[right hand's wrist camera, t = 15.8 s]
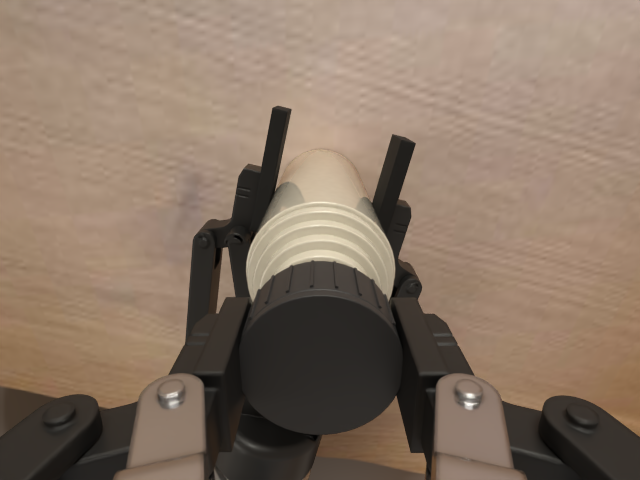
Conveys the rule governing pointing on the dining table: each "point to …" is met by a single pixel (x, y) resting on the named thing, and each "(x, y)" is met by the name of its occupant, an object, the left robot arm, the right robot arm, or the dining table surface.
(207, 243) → the left robot arm
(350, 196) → the bottle
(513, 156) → the dining table surface
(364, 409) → the cap
